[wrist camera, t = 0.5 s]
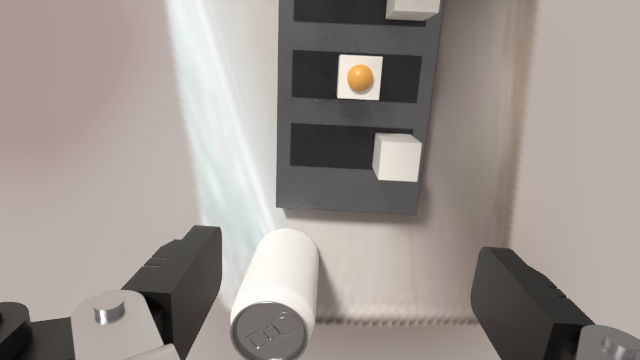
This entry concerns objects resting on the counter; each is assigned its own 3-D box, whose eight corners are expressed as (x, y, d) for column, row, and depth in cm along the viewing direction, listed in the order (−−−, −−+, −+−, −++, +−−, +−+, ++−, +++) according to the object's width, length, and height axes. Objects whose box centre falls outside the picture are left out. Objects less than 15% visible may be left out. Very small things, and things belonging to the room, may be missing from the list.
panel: (283, -84, 29) (279, -96, 27) (447, -77, 29) (456, -89, 27) (278, 200, 36) (275, 208, 34) (411, 207, 36) (416, 215, 34)
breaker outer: (375, 132, 32) (381, 141, 28) (410, 134, 32) (422, 143, 27) (372, 166, 32) (378, 179, 28) (406, 168, 32) (417, 181, 28)
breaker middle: (338, 56, 30) (340, 54, 26) (375, 58, 30) (383, 56, 26) (336, 94, 31) (337, 98, 26) (372, 96, 31) (379, 100, 26)
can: (331, 263, 38) (332, 346, 26) (281, 293, 39) (260, 386, 28) (294, 214, 37) (278, 280, 25) (243, 248, 38) (205, 325, 26)
